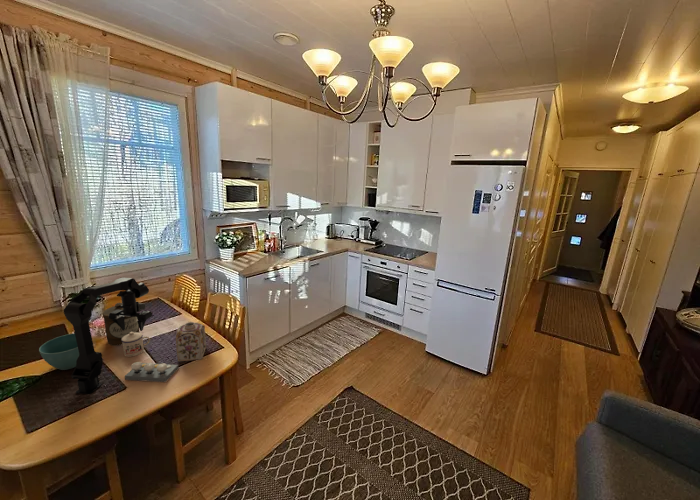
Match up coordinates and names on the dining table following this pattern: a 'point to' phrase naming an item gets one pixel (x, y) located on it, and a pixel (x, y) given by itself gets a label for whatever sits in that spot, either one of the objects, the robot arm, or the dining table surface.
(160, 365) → the white lever knob
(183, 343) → the decorative jar
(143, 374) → the board
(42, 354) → the teal bowl
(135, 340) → the teacup with lid
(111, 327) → the wooden container
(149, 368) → the button middle
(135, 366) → the button inner
